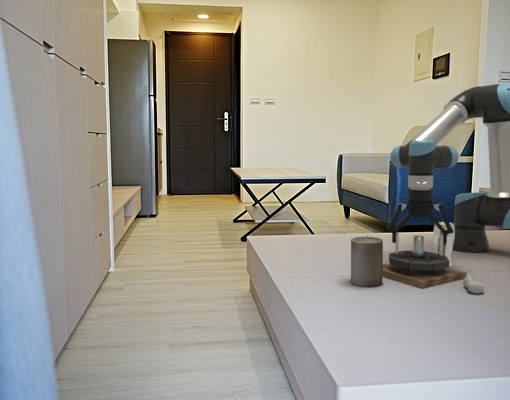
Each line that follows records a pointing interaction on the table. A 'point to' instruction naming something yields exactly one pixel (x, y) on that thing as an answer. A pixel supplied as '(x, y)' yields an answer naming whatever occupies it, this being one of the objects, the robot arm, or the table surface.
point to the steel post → (418, 247)
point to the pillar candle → (366, 261)
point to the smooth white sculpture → (473, 284)
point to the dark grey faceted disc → (418, 261)
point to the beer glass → (450, 241)
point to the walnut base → (422, 276)
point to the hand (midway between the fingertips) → (418, 253)
